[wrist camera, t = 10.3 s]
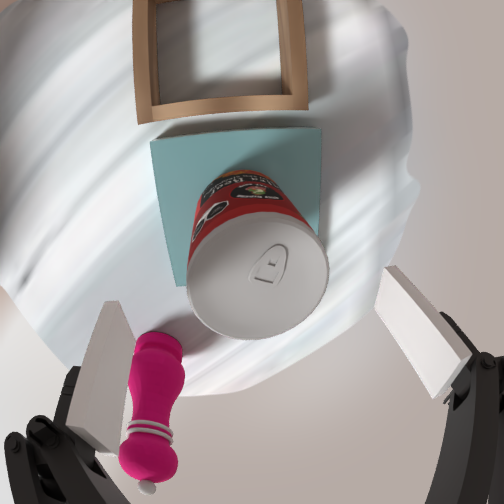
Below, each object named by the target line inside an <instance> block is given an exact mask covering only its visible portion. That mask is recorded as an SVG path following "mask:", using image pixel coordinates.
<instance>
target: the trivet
mask: <svg viewBox="0 0 504 504" xmlns="http://www.w3.org/2000/svg"><path fill="white" fill-rule="evenodd" d="M150 148H151V155H152V163H153V170H154V176H155V183H156V189H157V195H158V201H159V207H160V212H161V218H162V223H163V228H164V233H165V238H166V243H167V248H168V252H169V257H170V261H171V266H172V270H173V275H174V279H175V283H176V287H177V286H186V274H187V263H188V256H189V249H190V243H191V236H192V230H193V224H194V218H195V212H196V208H197V203H198V201H199V198H200V196H201V194H202V193H203V191H204V190H205V189H206V187H207V186H208V185H209V184H210V183H211V182H212V181H213V180H215V179H216V178H218V177H219V176H221V175H223V174H225V173H228V172H231V171H236V170H253V171H257V172H260V173H262V174H264V175H266V176H268V177H269V178H271V179H272V180H273V181H274V182H275V183H276V184H277V185H278V186H279V188H280V189H281V190H282V191H283V192H284V194H285V195H286V196H287V197H288V199H289V200H290V201H291V202H292V203H293V205H294V206H295V207H296V208H297V210H298V211H299V212H300V213H301V215H302V216H303V217H304V219H305V220H306V221H307V222H308V224H309V225H310V226H311V228H312V229H313V230H314V232H315V234H316V235H317V236H318V227H319V208H320V183H321V129H319V128H315V127H272V128H249V129H234V130H222V131H212V132H202V133H194V134H186V135H178V136H171V137H165V138H159V139H154V140H152V141H150Z"/></svg>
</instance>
